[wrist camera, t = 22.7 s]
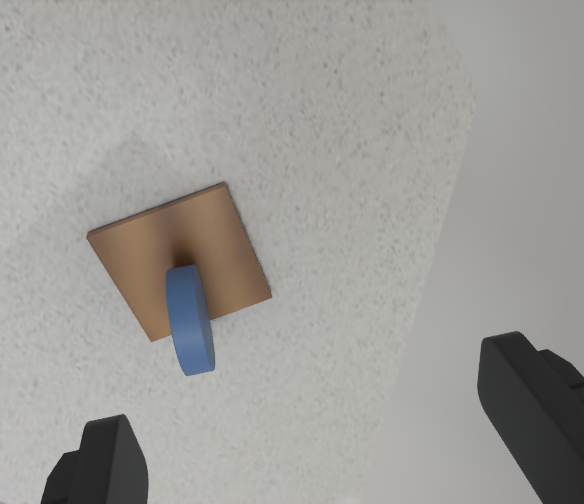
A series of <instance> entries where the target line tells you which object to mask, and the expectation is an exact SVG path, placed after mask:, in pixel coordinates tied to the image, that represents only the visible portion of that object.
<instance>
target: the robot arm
mask: <svg viewBox="0 0 584 504" xmlns="http://www.w3.org/2000/svg"><path fill="white" fill-rule="evenodd" d="M477 388H478V395H479V399H480V402H481V404H482V407H483V409H484V411H485V413H486V415H487V416H488V418H489V419H490V421H491V422H492V424H493V426H494V427H495V429H496V430H497V432H498V433H499V435H500V437H501V438H502V440H503V441H504V443H505V445H506V446H507V448H508V449H509V451H510V452H511V454H512V456H513V457H514V459H515V460H516V462H517V464H518V465H519V467H520V468H521V470H522V471H523V473H524V475H525V476H526V478H527V479H528V481H529V483H530V484H531V485H532V487H533V489H534V490H535V492H536V494H537V495H538V497H539V498H540V500H541V501H542V503H543V504H584V377H583V376H582V375H581V374H580V373H579V372H578V370H577V369H576V368H575V367H574V366H573V365H572V364H571V363H570V362H568V361H566V360H565V359H563V358H561V357H560V356H558V355H556V354H555V353H553V352H552V351H550V350H548V349H546V350H541V351H537V350H536V349H535V348H534V347H533V345H532V344H531V343H530V342H529V341H528V340H527V338H526V337H525V336H524V335H523V334H522V333H520V332H518V331H515V332H510V333H505V334H501V335H497V336H492V337H487V338H484V339H483V341H482V344H481V353H480V363H479V373H478V384H477ZM147 499H148V470H147V465H146V461H145V457H144V455H143V453H142V450H141V448H140V446H139V444H138V441H137V439H136V437H135V434H134V432H133V430H132V427H131V425H130V423H129V421H128V419H127V417H126V416H125V415H124V414H122V415H117V416H112V417H108V418H103V419H98V420H93V421H89V422H87V423H86V425H85V427H84V431H83V435H82V439H81V444H80V448H79V450H77V451H72V452H68V453H64V454H63V455H62V457H61V458H60V460H59V461H58V463H57V464H56V466H55V467H54V469H53V470H52V472H51V473H50V475H49V476H48V478H47V482H46V485H45V489H44V493H43V496H42V500H41V504H147Z"/></svg>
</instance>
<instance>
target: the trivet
mask: <svg viewBox="0 0 584 504" xmlns="http://www.w3.org/2000/svg"><path fill="white" fill-rule="evenodd" d="M86 238H87V240H88V241H89V243H90V245H91V246H92V248H93V249H94V251H95V253H96V254H97V256H98V257H99V259H100V261H101V262H102V264H103V265H104V267H105V269H106V270H107V272H108V273H109V275H110V277H111V278H112V280H113V281H114V283H115V285H116V286H117V288H118V290H119V291H120V293H121V294H122V296H123V298H124V299H125V301H126V302H127V304H128V306H129V307H130V309H131V310H132V312H133V314H134V315H135V317H136V318H137V320H138V322H139V323H140V325H141V326H142V328H143V330H144V331H145V333H146V334H147V336H148V338H149V339H150V341H151V342H153V341H156V340H159V339H161V338H164V337H167V336H169V335H172V333H171V327H170V322H169V316H168V309H167V300H166V272H167V270H168V269H172V268H177V267H182V266H188V265H193V264H195V265H196V266H197V268H198V271H199V274H200V277H201V281H202V285H203V289H204V293H205V297H206V302H207V307H208V312H209V317H210V320H213V319H216V318H218V317H221V316H224V315H226V314H229V313H232V312H235V311H237V310H240V309H243V308H245V307H248V306H251V305H254V304H256V303H259V302H262V301H264V300H267V299H270V298H272V294H271V291H270V289H269V286H268V284H267V281H266V279H265V277H264V274H263V272H262V269H261V267H260V265H259V262H258V260H257V257H256V255H255V253H254V250H253V248H252V246H251V243H250V241H249V238H248V236H247V234H246V231H245V229H244V226H243V224H242V222H241V219H240V217H239V214H238V212H237V210H236V207H235V205H234V202H233V200H232V198H231V195H230V193H229V190H228V188H227V186H226V183H221V184H219V185H216V186H213V187H210V188H208V189H205V190H202V191H200V192H197V193H194V194H191V195H189V196H186V197H183V198H181V199H178V200H175V201H172V202H170V203H167V204H164V205H162V206H159V207H156V208H153V209H151V210H148V211H145V212H143V213H140V214H137V215H134V216H132V217H129V218H126V219H124V220H121V221H118V222H115V223H113V224H110V225H107V226H105V227H102V228H99V229H97V230H94V231H91V232H88V233H87V236H86Z"/></svg>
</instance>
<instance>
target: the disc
mask: <svg viewBox="0 0 584 504" xmlns="http://www.w3.org/2000/svg"><path fill="white" fill-rule="evenodd" d="M166 300H167V309H168V316H169V322H170V327H171V333H172V337H173V342H174V346H175V350H176V354H177V357H178V360H179V363H180V366H181V368H182V371H183V372H184V374H185V375H186V376H190V375H195V374H200V373H205V372H209V371H214V370H215V352H214V343H213V336H212V329H211V323H210V317H209V312H208V307H207V302H206V297H205V293H204V289H203V285H202V281H201V277H200V274H199V271H198V268H197V266H196V265H195V264H193V265H188V266H182V267H177V268H172V269H168V270H167V272H166Z"/></svg>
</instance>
